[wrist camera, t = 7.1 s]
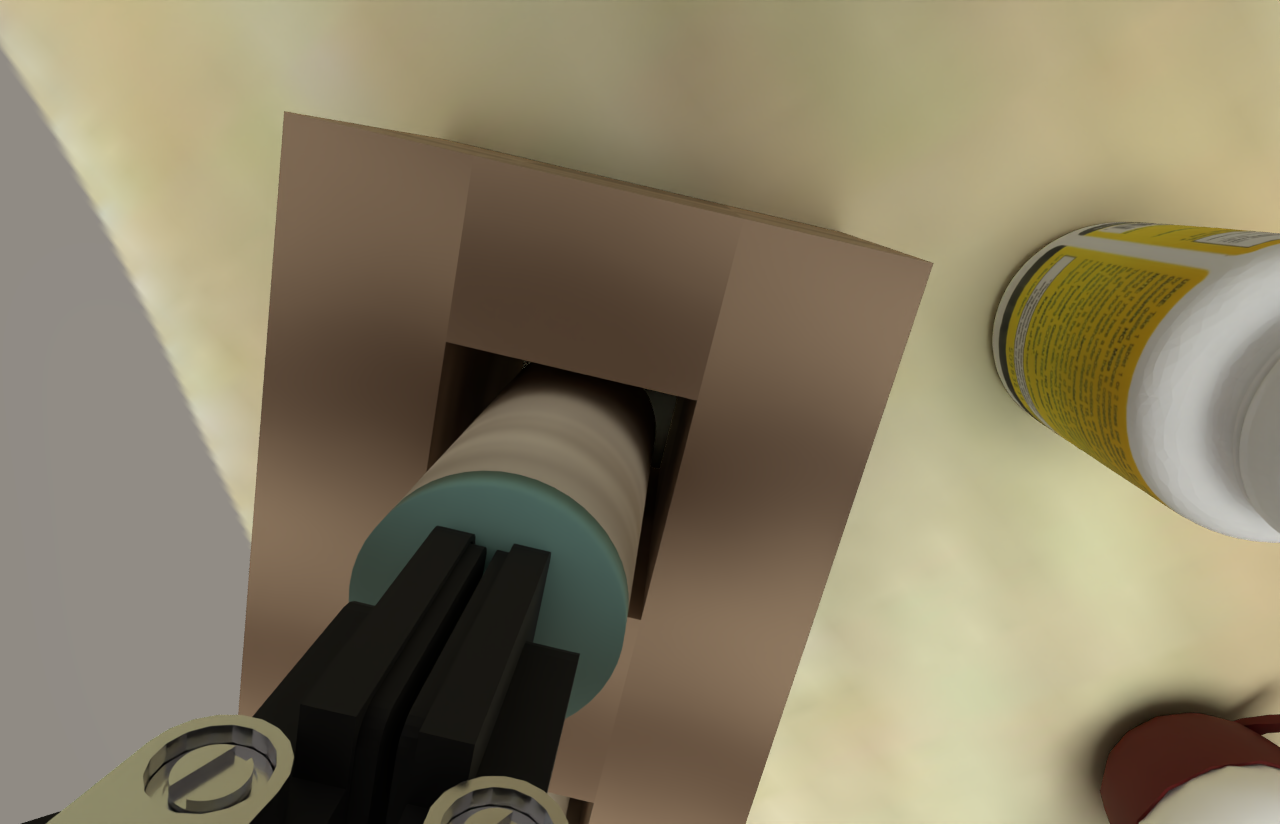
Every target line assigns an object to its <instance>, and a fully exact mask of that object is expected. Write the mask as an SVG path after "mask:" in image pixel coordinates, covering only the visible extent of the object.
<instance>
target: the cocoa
mask: <svg viewBox="0 0 1280 824" xmlns="http://www.w3.org/2000/svg"><path fill="white" fill-rule="evenodd" d="M1276 732H1280V715H1264V716H1257V717H1249V718H1241V719H1238V720H1235V721H1229V720H1225V719H1221V718H1217V717H1213V716H1209V715H1205V714H1200V713H1181V714H1173V715H1165V716H1157V717H1155V718H1153V719H1151V720H1149V721H1147V722H1145V723H1143V724H1141V725H1139V726H1137V727H1135V728H1133V729H1131V730H1129V731H1128V732H1127V733H1126V734H1125V735H1124V736H1123V738H1122V739H1121V740H1120V741H1119V742H1118V743H1117V745H1116V746H1115V747H1114V748H1113V749H1112V750H1111V752H1110V753H1109V756H1108V759H1107V762H1106V767H1105V771H1104V776H1103V780H1102V784H1101V789H1100V793H1101V797H1102V801H1103V805H1104V808H1105V811H1106V814H1107V817H1108V819H1109V822H1110V824H1280V747H1278V746H1277V745H1275V744H1274V743H1272V742H1271V741H1269V740H1268V739H1266V738H1264V737H1263V736H1261V735H1263V734H1266V733H1276Z"/></svg>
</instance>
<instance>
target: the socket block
mask: <svg viewBox="0 0 1280 824" xmlns="http://www.w3.org/2000/svg"><path fill="white" fill-rule="evenodd" d="M932 266H933V263H931V262H928V261H925V260H922V259H919V258H916V257H913V256H910V255H907V254H904V253H902V252H899V251H896V250H893V249H890V248H887V247H884V246H881V245H878V244H875V243H872V242H869V241H866V240H863V239H860V238H857V237H854V236H851V235H848V234H845V233H842V232H838V231H834V230H829V229H825V228H821V227H817V226H812V225H808V224H804V223H799V222H795V221H791V220H787V219H782V218H778V217H774V216H770V215H765V214H761V213H757V212H752V211H748V210H744V209H740V208H735V207H731V206H727V205H723V204H718V203H714V202H710V201H705V200H701V199H697V198H693V197H688V196H684V195H680V194H675V193H671V192H667V191H663V190H658V189H654V188H650V187H646V186H641V185H637V184H633V183H628V182H624V181H620V180H616V179H611V178H607V177H603V176H599V175H594V174H590V173H586V172H581V171H577V170H573V169H569V168H564V167H560V166H556V165H551V164H547V163H543V162H539V161H534V160H530V159H526V158H522V157H517V156H513V155H509V154H504V153H500V152H496V151H492V150H487V149H483V148H479V147H474V146H470V145H466V144H462V143H457V142H453V141H449V140H445V139H440V138H434V137H428V136H422V135H417V134H411V133H405V132H399V131H394V130H388V129H382V128H377V127H371V126H365V125H359V124H354V123H348V122H342V121H336V120H331V119H325V118H319V117H313V116H308V115H302V114H296V113H291V112H285V111H284V122H283V135H282V148H281V161H280V174H279V187H278V201H277V214H276V227H275V240H274V253H273V266H272V279H271V293H270V306H269V319H268V332H267V345H266V358H265V371H264V384H263V398H262V411H261V424H260V437H259V450H258V463H257V476H256V490H255V503H254V516H253V529H252V542H251V555H250V568H249V581H248V595H247V608H246V622H245V634H244V648H243V660H242V674H241V687H240V688H241V689H240V700H239V713H238V715H244V716H249V717H252V716H253V715H254V714H255V713H256V712H257V710H258V709H259V708H260V707H261V706H262V704H263V703H264V702H265V701H266V700H267V698H268V697H269V696H270V695H271V694H272V692H273V691H274V690H275V689H276V688H277V686H278V685H279V684H280V683H281V682H282V680H283V679H284V678H285V677H286V676H287V674H288V673H289V672H290V671H291V670H292V668H293V667H294V666H295V665H296V664H297V662H298V661H299V660H300V659H301V658H302V656H303V655H304V654H305V653H306V652H307V650H308V649H309V648H310V647H311V646H312V644H313V643H314V642H315V641H316V640H317V638H318V637H319V636H320V635H321V634H322V632H323V631H324V630H325V629H326V628H327V626H328V625H329V624H330V623H331V622H332V620H333V619H334V618H335V617H336V616H337V614H338V613H339V612H340V611H341V610H342V608H343V607H344V606H345V605H347V604H348V603H349V584H350V579H351V574H352V569H353V566H354V564H355V561H356V558H357V555H358V553H359V551H360V550H361V548H362V546H363V544H364V542H365V540H366V539H367V538H368V536H369V535H370V534H371V532H372V531H373V530H374V529H375V527H376V526H377V525H378V524H379V523H380V522H381V521H382V520H383V519H384V518H385V516H386V515H387V514H388V513H389V512H390V511H391V510H392V509H393V508H394V507H395V506H396V505H397V504H398V502H399V501H400V500H401V499H402V498H403V497H404V496H405V495H406V494H407V493H408V492H409V491H410V490H411V488H412V487H413V486H414V485H415V484H416V483H417V482H418V481H419V480H420V479H421V478H422V477H423V475H424V474H425V473H426V472H427V471H428V470H429V469H430V468H431V467H432V466H433V465H434V464H435V463H436V461H437V460H438V459H439V458H440V457H441V456H442V455H443V454H444V453H445V452H446V451H447V450H448V449H449V447H450V446H451V445H452V444H453V443H454V442H455V441H456V440H457V439H458V438H459V437H460V436H461V435H462V433H463V432H464V431H465V430H466V429H467V428H468V427H469V426H470V425H471V424H472V423H473V422H474V420H475V419H476V418H477V417H478V416H479V415H480V414H481V413H482V412H483V411H484V410H485V409H486V408H487V406H488V405H489V404H490V403H491V402H492V401H493V400H494V399H495V398H496V397H497V396H498V395H499V394H500V392H501V391H502V390H503V389H504V388H505V387H506V386H507V385H508V384H509V383H510V382H511V381H512V380H513V378H514V377H515V376H516V375H517V374H518V373H519V372H520V371H521V370H522V366H523V360H526V361H530V362H534V363H539V364H543V365H547V366H551V367H556V368H560V369H564V370H568V371H573V372H577V373H581V374H585V375H590V376H594V377H598V378H603V379H607V380H611V381H615V382H620V383H624V384H628V385H632V386H637V387H641V388H645V389H650V390H654V391H658V392H662V393H667V394H671V395H675V396H677V400H676V405H675V409H674V413H673V417H672V421H671V425H670V429H669V433H668V437H667V441H666V445H665V449H664V453H663V457H662V461H661V465H660V469H659V468H654V467H651V468H650V475H649V481H648V487H647V494H646V500H645V507H644V513H643V520H642V526H641V533H640V539H639V545H638V552H637V558H636V565H635V571H634V578H633V584H632V591H631V597H630V603H629V610H628V616H627V623H626V629H625V635H624V641H623V647H622V651H621V654H620V657H619V660H618V663H617V665H616V667H615V669H614V671H613V673H612V675H611V677H610V679H609V680H608V681H607V683H606V684H605V686H604V687H603V688H602V690H601V691H600V692H599V693H598V694H597V695H596V696H595V697H594V698H593V699H592V700H591V701H590V702H589V703H588V704H587V705H585V706H584V707H583V708H582V709H580V710H579V711H578V712H576V713H574V714H573V715H571V716H569V717H568V718H566V719H565V721H564V725H563V730H562V734H561V738H560V742H559V747H558V751H557V755H556V759H555V764H554V768H553V772H552V776H551V780H550V784H549V789H548V792H549V793H553V794H557V795H562V796H566V797H570V799H569V804H568V809H567V814H566V819H567V820H568V823H569V824H746V821H747V818H748V815H749V812H750V809H751V806H752V803H753V800H754V797H755V794H756V791H757V788H758V785H759V782H760V779H761V776H762V773H763V770H764V767H765V764H766V761H767V758H768V755H769V752H770V749H771V746H772V743H773V740H774V737H775V734H776V731H777V728H778V725H779V722H780V719H781V716H782V713H783V710H784V707H785V704H786V701H787V698H788V695H789V692H790V689H791V686H792V683H793V680H794V677H795V674H796V671H797V668H798V665H799V662H800V659H801V656H802V654H803V651H804V648H805V645H806V642H807V639H808V636H809V633H810V630H811V627H812V624H813V621H814V618H815V615H816V612H817V609H818V606H819V603H820V600H821V597H822V594H823V591H824V588H825V585H826V582H827V579H828V576H829V573H830V570H831V567H832V564H833V561H834V558H835V555H836V552H837V549H838V546H839V543H840V540H841V537H842V534H843V531H844V528H845V525H846V522H847V519H848V516H849V513H850V510H851V507H852V504H853V501H854V498H855V495H856V492H857V489H858V486H859V483H860V480H861V477H862V475H863V472H864V469H865V466H866V463H867V460H868V457H869V454H870V451H871V448H872V445H873V442H874V439H875V436H876V433H877V430H878V427H879V424H880V421H881V418H882V415H883V412H884V409H885V406H886V403H887V400H888V397H889V394H890V391H891V388H892V385H893V382H894V379H895V376H896V373H897V370H898V367H899V364H900V361H901V358H902V355H903V352H904V349H905V346H906V343H907V340H908V337H909V334H910V331H911V328H912V325H913V322H914V319H915V316H916V313H917V310H918V307H919V304H920V301H921V299H922V296H923V293H924V290H925V287H926V284H927V281H928V278H929V275H930V272H931V269H932Z"/></svg>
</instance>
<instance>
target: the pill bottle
mask: <svg viewBox="0 0 1280 824" xmlns="http://www.w3.org/2000/svg"><path fill="white" fill-rule="evenodd" d="M993 354H994V360H995V364H996V368H997V371H998V374H999V376H1000V379H1001V381H1002V383H1003V385H1004V387H1005V388H1006V390H1007V392H1008V393H1009V394H1010V396H1011V397H1012V398H1013V399H1014V401H1015V402H1016V403H1017V404H1018V405H1019V406H1020V407H1021V408H1023V409H1024V410H1025V411H1026V412H1027V413H1029V414H1030V415H1031V416H1032V417H1033V418H1035V419H1036V420H1038V421H1039V422H1040V423H1042V424H1043V425H1045V426H1046V427H1048V428H1049V429H1051V430H1052V431H1054V432H1055V433H1056V434H1058V435H1060V436H1061V437H1063V438H1064V439H1066V440H1067V441H1069V442H1070V443H1072V444H1074V445H1075V446H1076V447H1078V448H1079V449H1081V450H1083V451H1084V452H1086V453H1087V454H1089V455H1090V456H1092V457H1093V458H1094V459H1096V460H1097V461H1099V462H1100V463H1102V464H1103V465H1105V466H1106V467H1108V468H1109V469H1111V470H1112V471H1114V472H1116V473H1117V474H1119V475H1120V476H1122V477H1123V478H1125V479H1126V480H1128V481H1129V482H1131V483H1132V484H1134V485H1135V486H1137V487H1138V488H1140V489H1141V490H1143V491H1144V492H1146V493H1147V494H1149V495H1150V496H1152V497H1153V498H1155V499H1156V500H1158V501H1159V502H1161V503H1162V504H1164V505H1165V506H1167V507H1168V508H1170V509H1172V510H1173V511H1175V512H1176V513H1178V514H1179V515H1181V516H1183V517H1185V518H1187V519H1189V520H1191V521H1193V522H1194V523H1196V524H1198V525H1200V526H1202V527H1205V528H1207V529H1209V530H1212V531H1215V532H1218V533H1221V534H1224V535H1227V536H1231V537H1235V538H1239V539H1244V540H1250V541H1257V542H1272V543H1280V234H1279V233H1268V232H1256V231H1244V230H1233V229H1222V228H1209V227H1195V226H1182V225H1168V224H1154V223H1134V222H1112V223H1104V224H1098V225H1093V226H1089V227H1085V228H1082V229H1079V230H1076V231H1073V232H1071V233H1069V234H1066V235H1064V236H1062V237H1060V238H1058V239H1057V240H1055V241H1053V242H1051V243H1050V244H1048V245H1047V246H1046V247H1044V248H1043V249H1041V250H1040V251H1039V252H1037V253H1036V254H1035V255H1034V256H1033V257H1031V258H1030V259H1029V260H1028V261H1027V262H1026V263H1025V264H1024V265H1023V267H1022V268H1021V269H1020V270H1019V271H1018V272H1017V273H1016V275H1015V276H1014V277H1013V279H1012V280H1011V282H1010V283H1009V285H1008V287H1007V289H1006V290H1005V292H1004V295H1003V297H1002V299H1001V301H1000V304H999V307H998V310H997V313H996V317H995V321H994V327H993Z"/></svg>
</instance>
